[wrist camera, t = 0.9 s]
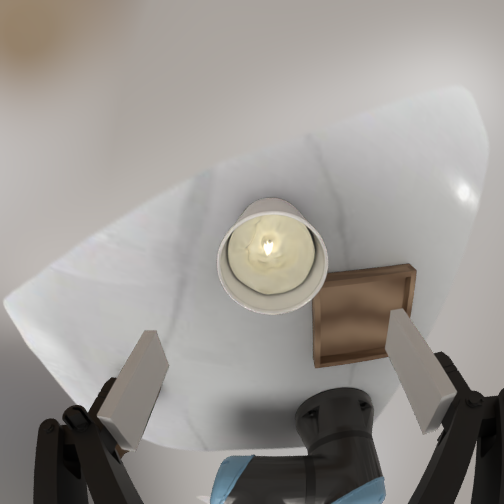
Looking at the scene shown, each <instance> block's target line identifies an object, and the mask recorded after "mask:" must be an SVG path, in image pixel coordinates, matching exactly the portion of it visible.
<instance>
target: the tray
mask: <svg viewBox="0 0 504 504" xmlns="http://www.w3.org/2000/svg"><path fill="white" fill-rule="evenodd" d="M416 272H417V270H416V269H415V268H413V267H412V266H411V265H410V264H402V265H394V266H386V267H378V268H369V269H361V270H352V271H343V272H334V273H327V276H326V279H325V281H324V284H323V286H322V287H321V289H320V291H319V292H318V293H317V295H316V296H315V297H314V298H313V299H312V313H313V360H314V366H315V368H321V367H329V366H336V365H343V364H350V363H356V362H362V361H368V360H374V359H379V358H384V357H389V356H388V354H387V352H386V350H385V345H386V339H387V333H388V326H389V319H390V312H391V310H396V309H402V308H403V309H404V311H405V312H406V314H407V315H408V316H409V318H410V315H411V309H412V303H413V296H414V289H415V281H416Z"/></svg>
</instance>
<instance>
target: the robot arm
mask: <svg viewBox="0 0 504 504" xmlns="http://www.w3.org/2000/svg"><path fill="white" fill-rule="evenodd" d="M385 350H386V352H387V354H388V356H389V358H390V360H391V363H392V365H393V367H394V369H395V371H396V373H397V375H398V378H399V380H400V382H401V384H402V386H403V388H404V391H405V393H406V395H407V398H408V400H409V402H410V404H411V407H412V409H413V411H414V414H415V416H416V418H417V421H418V423H419V426H420V428H421V431H422V433H423V435H424V434H427V433H430V432H433V431H436V430H437V429H438V427H439V426H440V424H441V423H442V425H443V427H444V430H443V431H442V433H441V435H440V436H439V438H438V439H437V441H438V443H437V446H436V448H435V451H434V453H433V455H432V458H431V460H430V462H429V464H428V466H427V468H426V470H425V472H424V474H423V476H422V478H421V480H420V483H419V484H418V486H417V488H416V490H415V492H414V493H413V495H412V497H411V499H410V501H409V503H408V504H454V502H455V499H456V497H457V495H458V492H459V490H460V488H461V485H462V483H463V480H464V477H465V475H466V472H467V469H468V466H469V463H470V460H471V457H472V454H473V451H474V448H475V444H476V441H477V450H476V465H475V476H474V485H473V492H472V499H471V504H504V388H503V389H502V390H501V391H500V393H499V395H498V396H490V397H484V396H483V395H482V394H481V393H479V392H477V391H471V390H470V388H469V387H468V385H467V383H466V382H465V380H464V379H463V377H462V376H461V374H460V373H459V371H457V368H456V366H455V365H454V363H453V362H452V360H451V359H450V358H449V357H448V356H447V355H445V354H444V353H443V352H438V353H433V352H432V350H431V349H430V347H429V346H428V344H427V343H426V341H425V340H424V338H423V337H422V335H421V334H420V332H419V331H418V329H417V328H416V327H415V325H414V324H413V322H412V321H411V319H410V318H409V316H408V315H407V314H406V312H405V311H404V309H403V308H402V309H396V310H391V312H390V319H389V326H388V333H387V339H386V345H385ZM168 368H169V364H168V361H167V358H166V356H165V353H164V350H163V348H162V345H161V342H160V339H159V337H158V334H157V331H156V330H150V331H144V333H143V334H142V336H141V338H140V339H139V341H138V343H137V344H136V346H135V348H134V349H133V351H132V353H131V355H130V356H129V358H128V360H127V362H126V363H125V365H124V367H123V368H122V370H121V372H120V374H119V375H118V377H117V378H114V377H111V378H110V379H109V380H108V381H107V382H106V383H105V384H104V386H103V387H102V389H101V392H99V394H98V397H97V398H96V399H95V401H94V403H93V405H92V406H91V408H90V410H89V412H88V413H87V411H86V410H85V408H84V407H82V406H81V405H74V406H71V407H69V408H67V409H66V410H65V412H64V414H63V417H62V419H63V421H64V422H65V423H66V424H67V425H60V424H59V423H58V421H57V420H55V419H46V420H45V421H43V422H42V423H41V425H40V427H39V431H38V439H37V447H36V457H35V469H34V495H33V496H34V497H33V499H34V500H33V503H34V504H88V495H87V485H88V488H89V491H90V493H91V496H92V499H93V501H94V504H144V503H143V501H142V500H141V498H140V496H139V495H138V493H137V491H136V489H135V487H134V485H133V483H132V481H131V479H130V477H129V475H128V473H127V471H126V469H125V467H124V465H123V462H122V461H121V458H120V456H119V454H118V452H117V450H116V449H115V447H116V445H117V443H118V444H119V446H120V447H121V448H122V449H124V450H128V451H134V452H136V450H137V447H138V445H139V442H140V439H141V437H142V434H143V431H144V429H145V426H146V424H147V421H148V418H149V416H150V413H151V411H152V408H153V406H154V403H155V400H156V398H157V395H158V393H159V390H160V388H161V385H162V383H163V380H164V378H165V375H166V373H167V370H168ZM373 416H374V408H373V405H372V402H371V399H370V397H369V396H368V395H367V394H366V393H365V392H363V391H361V390H357V389H352V388H340V389H333V390H329V391H326V392H323V393H320V394H318V395H315V396H313V397H312V398H310V399H308V400H307V401H306V402H304V403H303V404H302V405H301V406H300V407H299V409H298V410H297V413H296V416H295V420H296V428H297V431H298V433H299V435H300V437H301V439H302V441H303V443H304V444H305V446H306V448H307V450H308V455H307V456H277V457H272V456H270V457H269V456H255V455H251V456H230V457H227V458H226V459H225V460H224V461H223V462H222V463H221V465H220V467H219V470H218V472H217V475H216V478H215V481H214V485H213V488H212V493H211V498H210V504H382V503H383V501H384V499H385V496H386V492H385V486H384V477H383V475H382V471H381V467H380V463H379V460H378V456H377V452H376V449H375V445H374V442H373V438H372V426H373ZM86 483H87V484H86Z"/></svg>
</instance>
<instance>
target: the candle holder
mask: <svg viewBox="0 0 504 504" xmlns="http://www.w3.org/2000/svg"><path fill="white" fill-rule="evenodd" d="M327 271H328V253H327V249H326V246H325V243H324V241H323V239H322V237H321V236H320V234H319V233H318V231H317V230H316V229H315V228H314V227H313V226H312V225H311V224H310V223H309V222H308V221H307V220H306V219H305V217H304V216H303V215H302V214H301V213H300V212H299V211H298V209H297V208H296V207H294V206H293V205H292V204H291V203H289V202H287V201H285V200H283V199H279V198H263V199H260V200H257V201H255V202H253V203H252V204H250V205H249V206H248V207H247V208H246V209H245V210H244V211H243V213H242V214H241V215H240V217H239V218H238V219H237V221H236V222H235V224H234V225H233V227H232V228H231V229H230V230H229V231H228V232H227V234H226V235H225V237H224V238H223V240H222V242H221V244H220V247H219V250H218V255H217V272H218V276H219V279H220V282H221V284H222V286H223V288H224V290H225V291H226V292H227V294H228V295H229V296H230V297H231V298H232V299H233V300H234V301H235V302H236V303H238V304H239V305H240V306H242V307H244V308H246V309H248V310H250V311H253V312H256V313H260V314H267V315H278V314H284V313H288V312H292V311H294V310H297V309H299V308H301V307H302V306H304V305H306V304H307V303H308V302H309V301H311V300H312V299H313V298H314V297H315V296H316V295H317V293H318V292H319V291H320V289H321V287H322V286H323V284H324V281H325V279H326V276H327Z"/></svg>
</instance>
